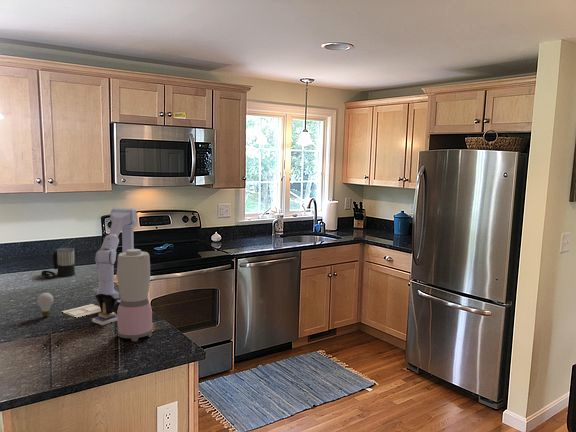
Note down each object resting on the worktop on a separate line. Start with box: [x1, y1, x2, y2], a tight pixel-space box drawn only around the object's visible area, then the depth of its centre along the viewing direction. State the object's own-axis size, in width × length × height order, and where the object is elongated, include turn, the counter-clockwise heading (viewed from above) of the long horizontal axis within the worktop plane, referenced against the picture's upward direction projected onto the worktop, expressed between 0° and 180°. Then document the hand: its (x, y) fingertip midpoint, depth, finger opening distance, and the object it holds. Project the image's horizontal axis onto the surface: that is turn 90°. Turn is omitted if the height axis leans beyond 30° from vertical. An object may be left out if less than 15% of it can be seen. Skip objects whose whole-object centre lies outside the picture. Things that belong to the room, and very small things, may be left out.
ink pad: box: [91, 313, 117, 326], centre depth 189 cm, size 9×7×2 cm
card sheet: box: [61, 303, 103, 319], centre depth 200 cm, size 14×12×1 cm
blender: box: [116, 248, 153, 342], centre depth 172 cm, size 16×12×32 cm
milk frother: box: [40, 247, 76, 279], centre depth 258 cm, size 14×16×15 cm
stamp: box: [98, 302, 116, 319], centre depth 188 cm, size 4×4×6 cm
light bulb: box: [36, 292, 54, 318], centre depth 191 cm, size 6×6×10 cm
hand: (106, 312), depth 188 cm, fingers closed on stamp, 3 cm apart
